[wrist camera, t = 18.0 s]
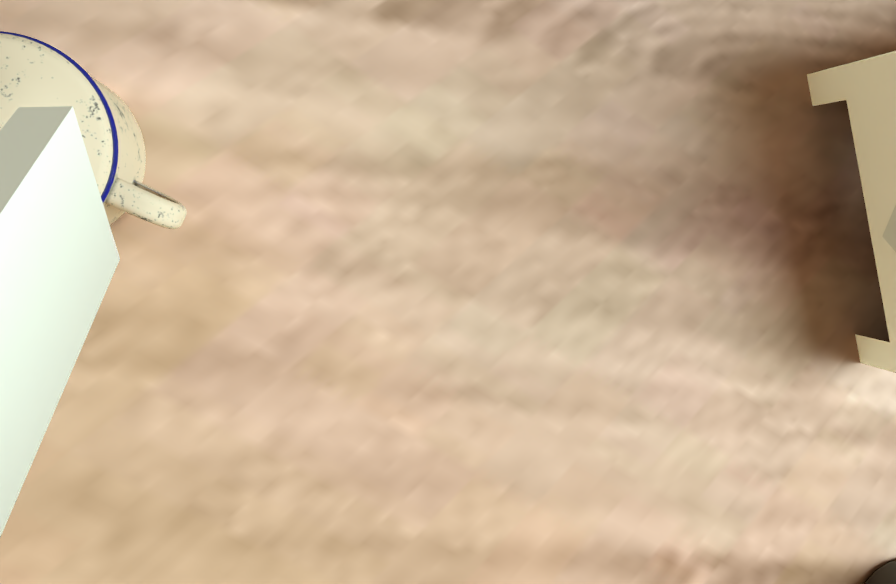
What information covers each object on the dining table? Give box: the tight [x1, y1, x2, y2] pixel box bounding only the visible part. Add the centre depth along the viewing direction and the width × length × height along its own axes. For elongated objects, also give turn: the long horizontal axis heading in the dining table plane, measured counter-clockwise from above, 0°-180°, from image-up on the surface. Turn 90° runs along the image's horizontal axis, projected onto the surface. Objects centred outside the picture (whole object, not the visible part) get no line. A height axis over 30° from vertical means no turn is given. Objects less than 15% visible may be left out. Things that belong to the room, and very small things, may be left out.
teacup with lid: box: [0, 31, 187, 229], centre depth 36 cm, size 12×9×12 cm
